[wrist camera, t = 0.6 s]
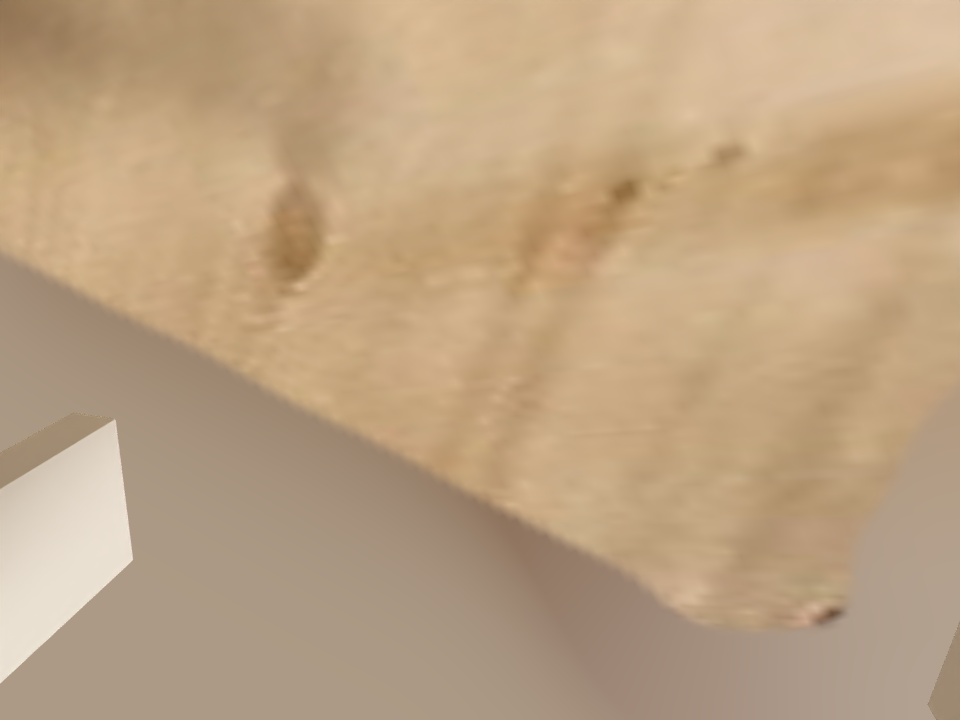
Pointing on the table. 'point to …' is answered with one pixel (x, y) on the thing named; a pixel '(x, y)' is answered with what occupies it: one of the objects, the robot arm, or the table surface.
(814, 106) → the table surface
